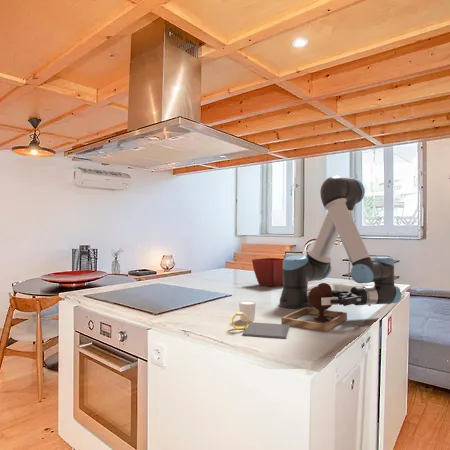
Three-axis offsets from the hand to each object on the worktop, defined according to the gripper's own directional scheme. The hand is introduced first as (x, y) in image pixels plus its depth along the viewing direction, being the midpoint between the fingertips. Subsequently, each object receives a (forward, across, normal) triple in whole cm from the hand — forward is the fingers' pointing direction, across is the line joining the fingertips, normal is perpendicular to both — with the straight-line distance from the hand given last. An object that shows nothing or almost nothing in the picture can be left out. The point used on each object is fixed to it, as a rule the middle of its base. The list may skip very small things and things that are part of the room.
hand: (314, 298), depth 137 cm
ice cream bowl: (-3, 0, -9) cm, 10 cm away
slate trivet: (+22, -9, -9) cm, 26 cm away
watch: (+31, -5, -9) cm, 33 cm away
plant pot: (-10, +87, -9) cm, 88 cm away
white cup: (+26, +7, -9) cm, 28 cm away
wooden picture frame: (0, -1, -9) cm, 9 cm away
